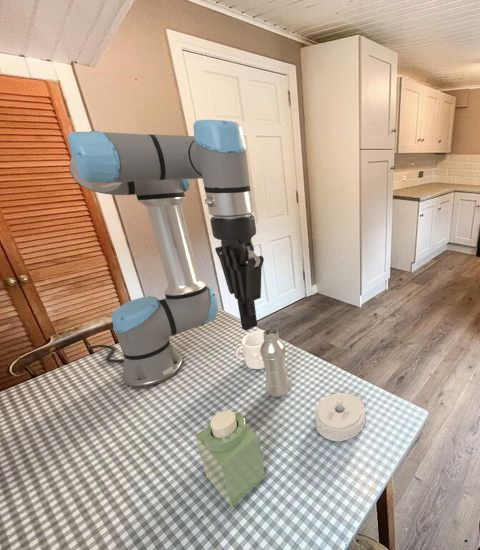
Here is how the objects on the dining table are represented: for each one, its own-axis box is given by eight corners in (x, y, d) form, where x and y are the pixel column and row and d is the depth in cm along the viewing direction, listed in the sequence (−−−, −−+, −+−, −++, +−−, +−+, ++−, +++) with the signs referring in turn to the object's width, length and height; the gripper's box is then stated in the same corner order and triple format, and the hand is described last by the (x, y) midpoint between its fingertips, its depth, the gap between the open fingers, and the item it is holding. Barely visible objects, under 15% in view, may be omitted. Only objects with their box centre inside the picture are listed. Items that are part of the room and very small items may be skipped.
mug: (238, 378, 92) (233, 353, 88) (237, 358, 101) (233, 335, 97) (278, 368, 96) (275, 343, 93) (274, 350, 105) (271, 327, 102)
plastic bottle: (284, 402, 83) (276, 340, 76) (262, 398, 84) (252, 337, 77) (294, 386, 89) (288, 327, 81) (273, 382, 90) (265, 324, 83)
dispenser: (206, 476, 64) (192, 427, 59) (238, 451, 69) (229, 403, 64) (232, 507, 58) (219, 456, 53) (265, 477, 64) (256, 427, 58)
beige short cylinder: (208, 431, 58) (205, 421, 57) (229, 416, 62) (227, 406, 61) (220, 443, 56) (217, 433, 55) (241, 427, 59) (239, 417, 58)
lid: (349, 396, 85) (348, 382, 83) (374, 427, 75) (375, 412, 74) (307, 416, 79) (305, 401, 77) (329, 453, 69) (328, 437, 67)
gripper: (194, 213, 56) (216, 324, 65) (232, 223, 49) (252, 346, 57) (232, 208, 62) (248, 311, 70) (271, 216, 54) (283, 329, 63)
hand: (249, 326), depth 64 cm, fingers closed
